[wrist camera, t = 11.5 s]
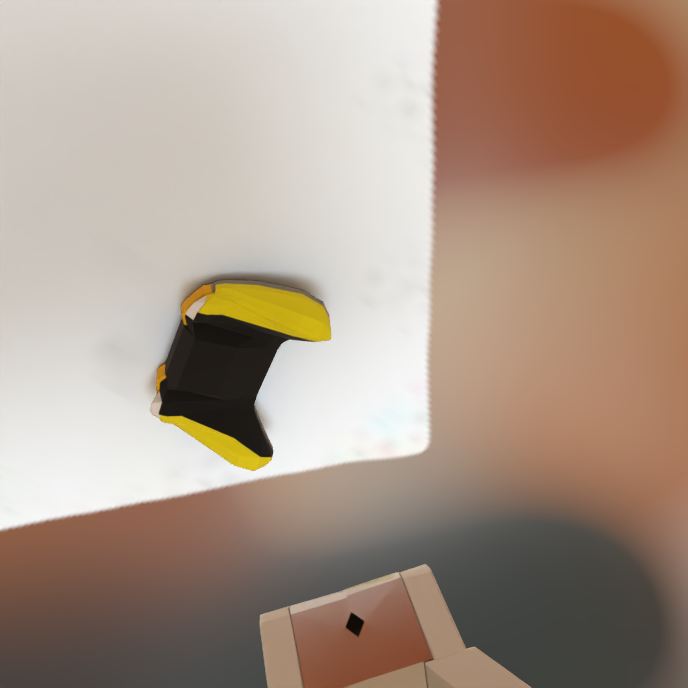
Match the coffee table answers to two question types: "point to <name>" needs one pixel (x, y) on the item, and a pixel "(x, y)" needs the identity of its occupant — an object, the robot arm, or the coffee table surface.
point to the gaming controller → (232, 362)
